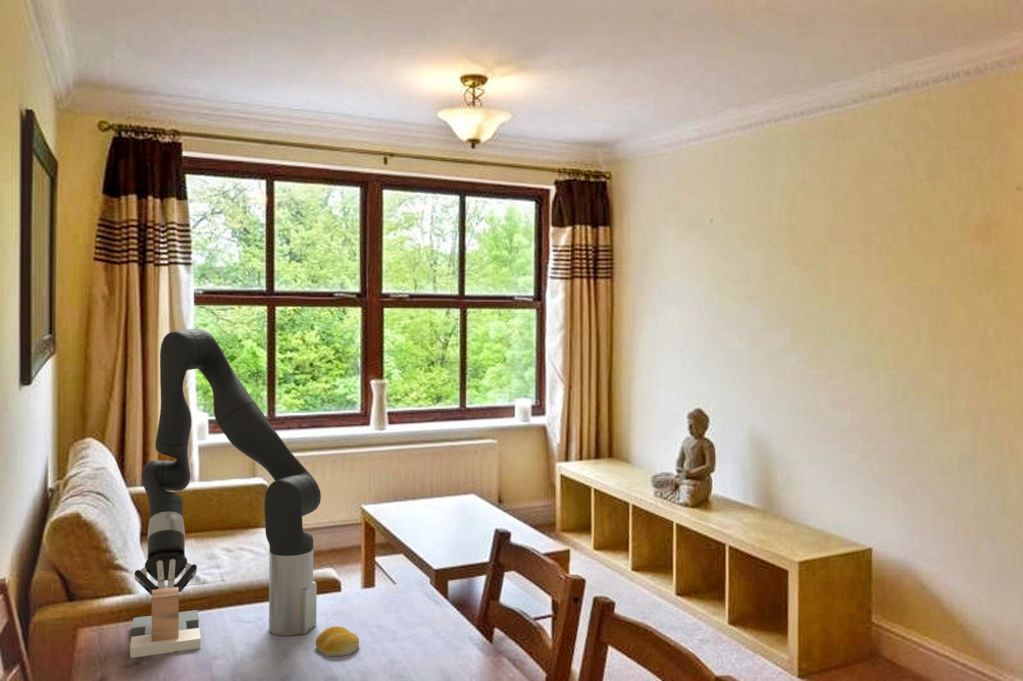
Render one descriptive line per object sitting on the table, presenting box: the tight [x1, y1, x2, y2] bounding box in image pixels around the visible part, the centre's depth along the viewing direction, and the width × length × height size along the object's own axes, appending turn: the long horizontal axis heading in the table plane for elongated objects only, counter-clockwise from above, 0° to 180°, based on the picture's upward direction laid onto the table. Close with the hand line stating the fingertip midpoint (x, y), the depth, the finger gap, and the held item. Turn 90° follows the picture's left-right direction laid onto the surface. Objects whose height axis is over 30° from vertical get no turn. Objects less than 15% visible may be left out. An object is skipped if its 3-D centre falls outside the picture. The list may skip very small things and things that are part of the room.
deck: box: [131, 609, 200, 637], centre depth 171 cm, size 11×13×2 cm
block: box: [151, 587, 180, 642], centre depth 164 cm, size 5×5×9 cm
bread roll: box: [315, 625, 360, 657], centre depth 164 cm, size 8×9×4 cm
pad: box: [129, 627, 202, 659], centre depth 163 cm, size 6×13×2 cm, turn 113°
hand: (166, 610), depth 167 cm, fingers closed
